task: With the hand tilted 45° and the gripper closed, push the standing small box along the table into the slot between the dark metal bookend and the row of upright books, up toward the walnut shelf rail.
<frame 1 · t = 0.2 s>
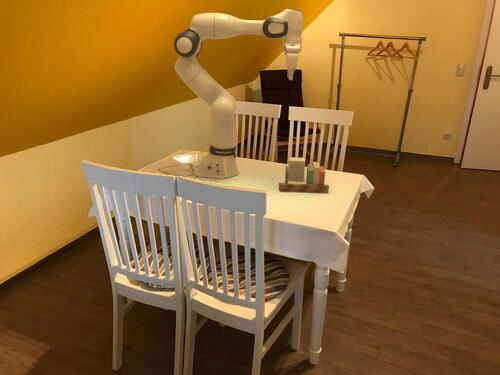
hand: (289, 78, 197), 48 cm above the table, tool pointing down, fingers open, 8 cm apart
small box: (295, 179, 208), on the table
upright books: (314, 188, 197), on the table
walnut shelf rail: (303, 191, 193), on the table
bookend: (286, 187, 198), on the table
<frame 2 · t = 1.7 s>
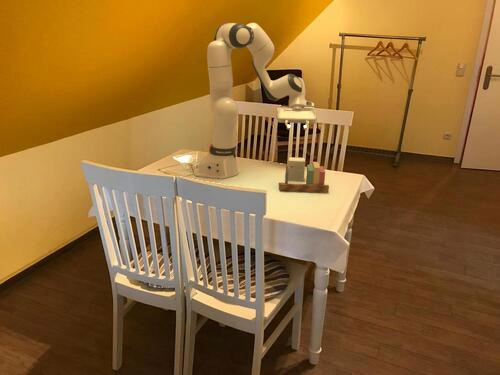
hand: (296, 129, 215), 22 cm above the table, tool tilted 45°, fingers open, 7 cm apart
nothing on the table moved.
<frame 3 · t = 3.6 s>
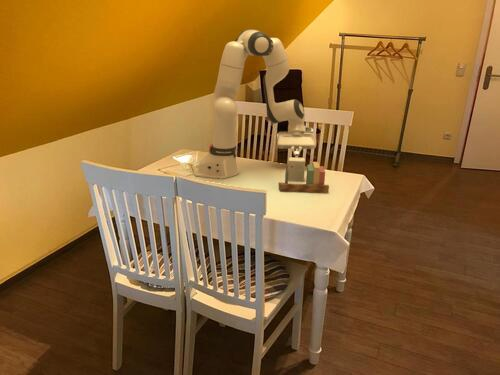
hand: (296, 155, 215), 9 cm above the table, tool tilted 45°, fingers closed
nothing on the table moved.
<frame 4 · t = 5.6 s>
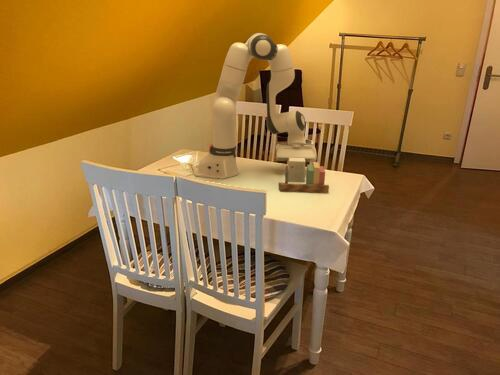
hand: (296, 168, 209), 5 cm above the table, tool tilted 45°, fingers closed, pressing on small box
small box: (295, 180, 208), on the table, touching gripper
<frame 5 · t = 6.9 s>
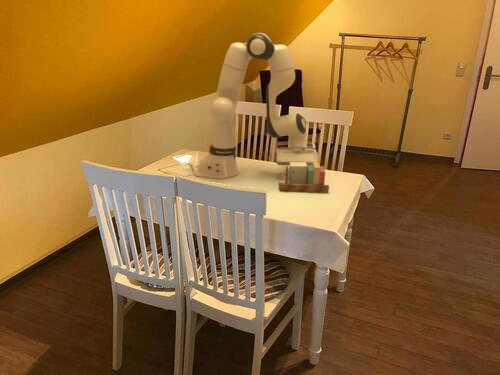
hand: (297, 172, 202), 5 cm above the table, tool tilted 45°, fingers closed, pressing on small box
small box: (297, 185, 201), on the table, touching gripper
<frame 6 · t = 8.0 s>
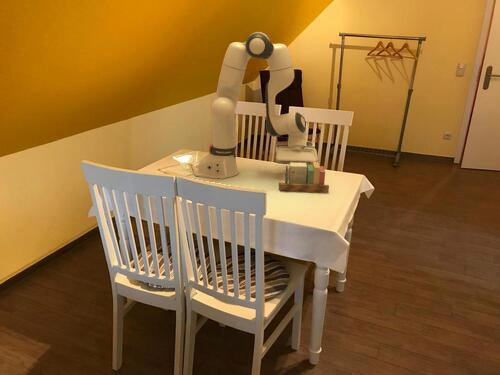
hand: (296, 171, 203), 5 cm above the table, tool tilted 45°, fingers closed
small box: (297, 185, 201), on the table
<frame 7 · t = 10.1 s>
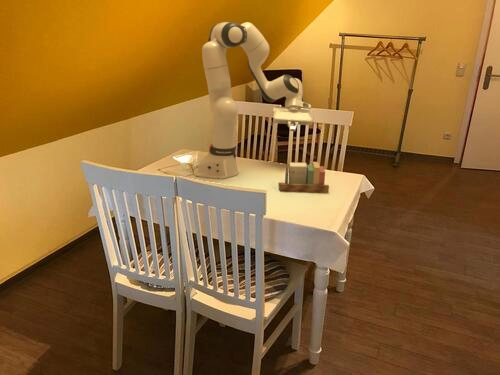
hand: (292, 130, 211), 22 cm above the table, tool tilted 45°, fingers closed
nothing on the table moved.
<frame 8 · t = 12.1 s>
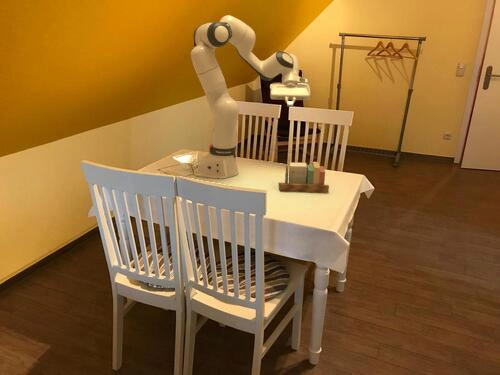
hand: (290, 105, 211), 33 cm above the table, tool tilted 45°, fingers closed
nothing on the table moved.
at the end: small box 2.2 cm from the target spot, on the table; small box tilted 0°; the gripper is holding nothing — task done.
